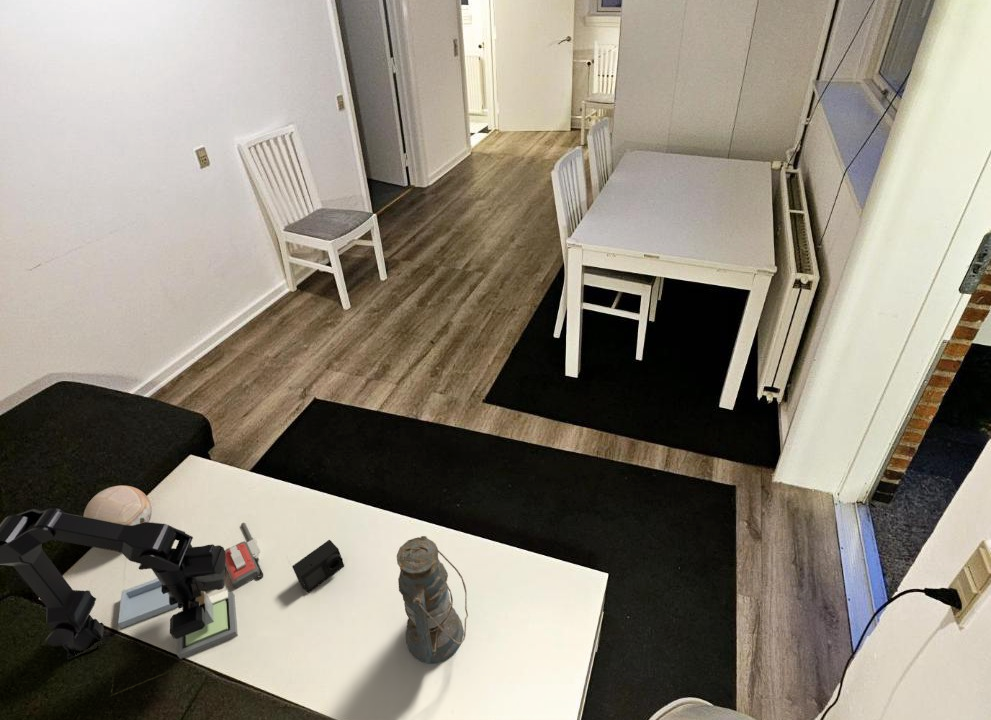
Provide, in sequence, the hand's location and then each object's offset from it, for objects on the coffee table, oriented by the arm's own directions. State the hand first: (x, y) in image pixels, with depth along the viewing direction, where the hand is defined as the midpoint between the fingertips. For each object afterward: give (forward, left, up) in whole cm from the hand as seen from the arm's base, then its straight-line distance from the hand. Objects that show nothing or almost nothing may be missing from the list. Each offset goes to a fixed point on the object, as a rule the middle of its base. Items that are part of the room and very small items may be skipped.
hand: (201, 615), depth 127 cm
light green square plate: (0, 0, -4) cm, 4 cm away
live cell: (0, 0, -1) cm, 1 cm away
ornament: (-19, +39, -5) cm, 44 cm away
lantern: (+47, -25, -5) cm, 54 cm away
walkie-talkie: (+9, +17, -6) cm, 20 cm away
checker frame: (0, 0, -5) cm, 5 cm away
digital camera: (+27, +1, -5) cm, 27 cm away
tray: (-12, +13, -5) cm, 18 cm away
